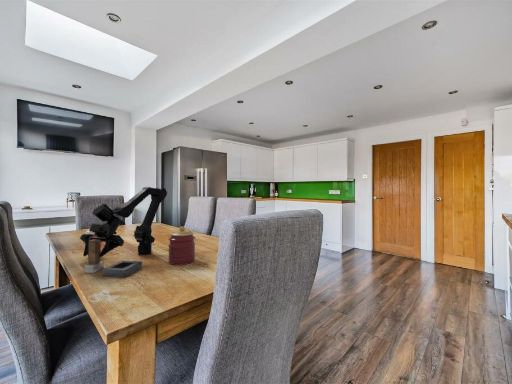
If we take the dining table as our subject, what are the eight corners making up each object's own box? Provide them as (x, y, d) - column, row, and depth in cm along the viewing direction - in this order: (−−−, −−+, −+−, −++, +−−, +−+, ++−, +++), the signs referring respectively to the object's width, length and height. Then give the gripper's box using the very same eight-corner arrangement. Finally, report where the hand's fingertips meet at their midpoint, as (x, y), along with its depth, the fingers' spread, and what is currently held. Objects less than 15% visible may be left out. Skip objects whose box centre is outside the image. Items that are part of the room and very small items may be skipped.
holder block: (122, 266, 111) (122, 260, 110) (142, 268, 109) (142, 261, 109) (102, 276, 99) (102, 269, 99) (124, 277, 97) (124, 270, 97)
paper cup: (96, 258, 123) (96, 231, 122) (81, 258, 123) (81, 231, 123) (106, 254, 130) (106, 229, 130) (92, 254, 131) (92, 229, 130)
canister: (187, 266, 113) (187, 229, 112) (162, 264, 115) (163, 227, 115) (199, 258, 125) (199, 225, 125) (177, 256, 128) (177, 224, 128)
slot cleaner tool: (95, 267, 109) (95, 238, 109) (103, 268, 108) (103, 238, 108) (84, 272, 103) (84, 241, 103) (93, 272, 103) (93, 241, 102)
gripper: (83, 216, 111) (60, 245, 100) (119, 217, 108) (101, 247, 97) (96, 230, 118) (77, 258, 108) (131, 231, 116) (114, 260, 105)
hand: (91, 256), depth 104 cm, fingers open, 7 cm apart
